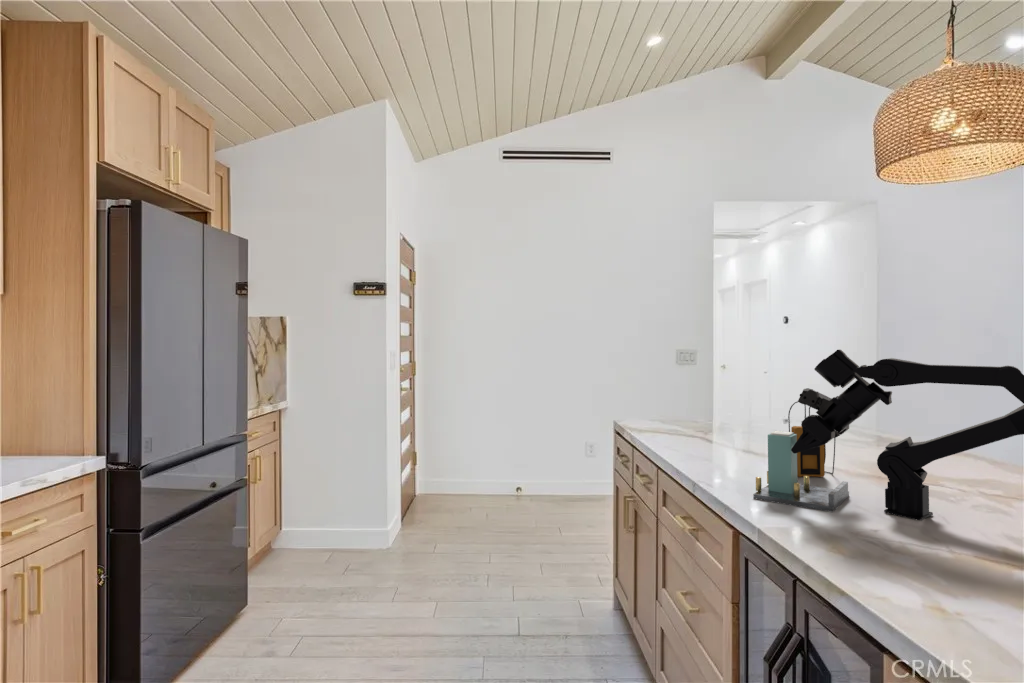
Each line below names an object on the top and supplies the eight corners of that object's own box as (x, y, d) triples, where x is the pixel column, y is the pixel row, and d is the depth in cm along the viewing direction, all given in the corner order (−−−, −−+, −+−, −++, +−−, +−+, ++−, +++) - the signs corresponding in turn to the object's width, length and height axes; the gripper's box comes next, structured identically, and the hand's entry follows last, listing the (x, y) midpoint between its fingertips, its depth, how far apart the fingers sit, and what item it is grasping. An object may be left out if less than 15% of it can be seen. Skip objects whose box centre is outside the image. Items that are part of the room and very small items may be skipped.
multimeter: (822, 469, 154) (821, 397, 154) (839, 477, 144) (838, 401, 144) (767, 468, 155) (766, 397, 155) (781, 477, 145) (780, 401, 145)
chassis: (849, 495, 127) (848, 478, 127) (832, 512, 115) (832, 492, 115) (772, 484, 138) (772, 468, 138) (750, 497, 126) (750, 480, 126)
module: (797, 489, 129) (796, 432, 129) (791, 494, 125) (790, 435, 125) (774, 486, 132) (773, 430, 133) (768, 490, 129) (767, 433, 129)
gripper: (831, 374, 130) (783, 418, 138) (811, 378, 116) (758, 426, 124) (872, 409, 125) (819, 453, 132) (855, 418, 111) (797, 466, 118)
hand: (798, 448), depth 127 cm, fingers open, 9 cm apart
